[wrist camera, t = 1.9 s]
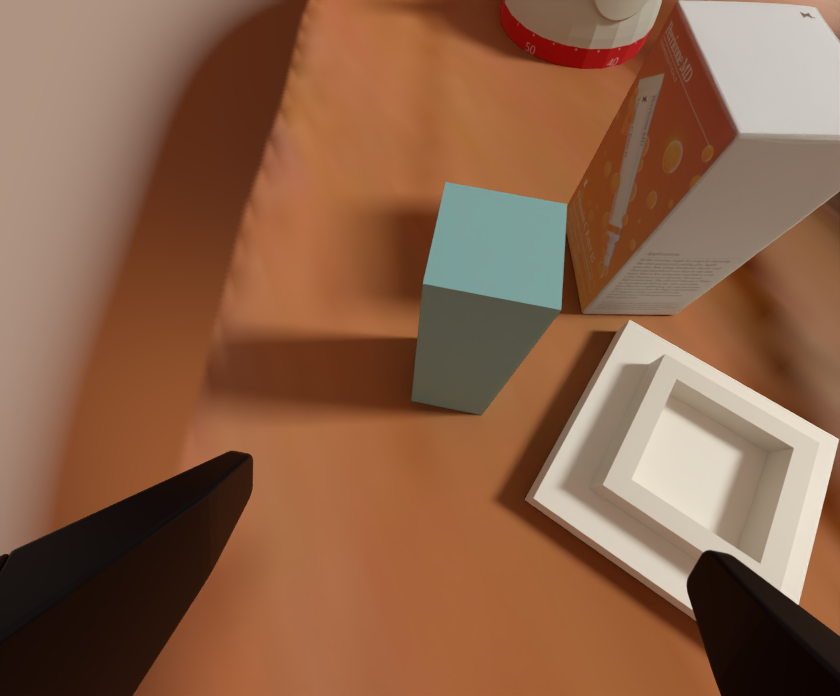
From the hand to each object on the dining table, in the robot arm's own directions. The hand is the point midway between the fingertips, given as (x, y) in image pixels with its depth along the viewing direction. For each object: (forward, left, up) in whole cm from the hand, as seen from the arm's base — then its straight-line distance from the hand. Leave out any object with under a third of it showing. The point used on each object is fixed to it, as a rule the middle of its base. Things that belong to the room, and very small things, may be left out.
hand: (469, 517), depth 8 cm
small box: (+20, -5, -13) cm, 24 cm away
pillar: (+8, +2, -13) cm, 15 cm away
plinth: (+8, -11, -13) cm, 19 cm away
